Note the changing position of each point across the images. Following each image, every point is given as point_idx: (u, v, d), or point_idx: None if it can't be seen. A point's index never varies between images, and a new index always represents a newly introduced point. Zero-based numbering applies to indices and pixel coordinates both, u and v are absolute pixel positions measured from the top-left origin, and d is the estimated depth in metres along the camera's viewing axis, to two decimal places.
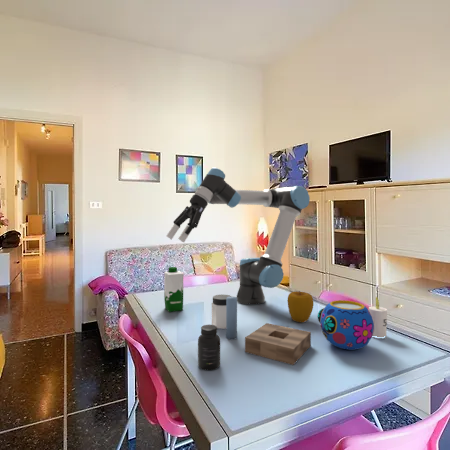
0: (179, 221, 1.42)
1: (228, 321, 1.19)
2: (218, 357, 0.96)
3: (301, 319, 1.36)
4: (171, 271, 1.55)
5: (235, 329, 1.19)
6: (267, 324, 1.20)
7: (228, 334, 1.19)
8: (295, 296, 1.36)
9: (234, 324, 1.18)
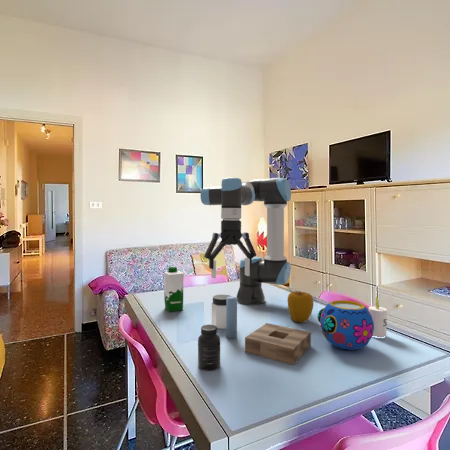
0: None
1: (228, 321, 1.19)
2: (218, 357, 0.96)
3: (301, 319, 1.36)
4: (171, 271, 1.55)
5: (235, 329, 1.19)
6: (267, 324, 1.20)
7: (228, 334, 1.19)
8: (295, 296, 1.36)
9: (234, 324, 1.18)
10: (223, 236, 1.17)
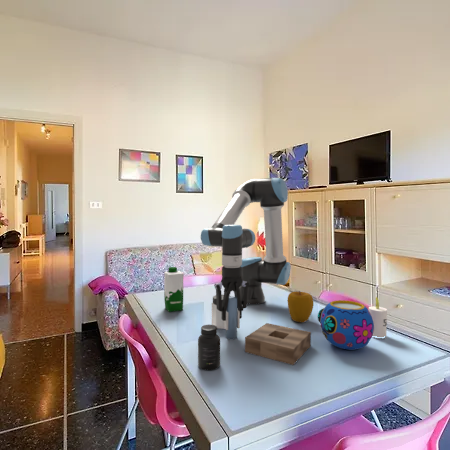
0: None
1: (228, 321, 1.19)
2: (218, 357, 0.96)
3: (301, 319, 1.36)
4: (171, 271, 1.55)
5: (235, 329, 1.19)
6: (267, 324, 1.20)
7: (228, 334, 1.19)
8: (295, 296, 1.36)
9: (234, 324, 1.18)
10: (224, 283, 1.17)
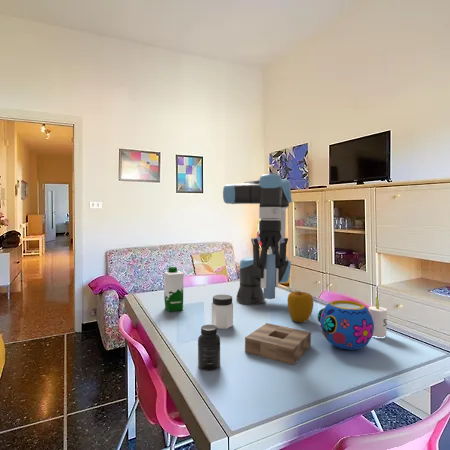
0: None
1: (266, 279, 1.09)
2: (218, 357, 0.96)
3: (301, 319, 1.36)
4: (171, 271, 1.55)
5: (273, 288, 1.10)
6: (267, 324, 1.20)
7: (266, 293, 1.09)
8: (295, 296, 1.36)
9: (273, 282, 1.09)
10: (263, 238, 1.08)
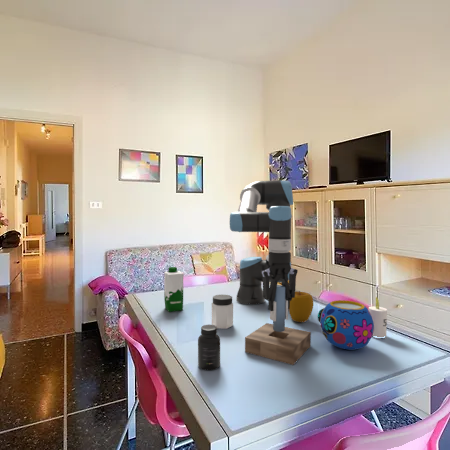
0: None
1: (276, 312, 1.08)
2: (218, 357, 0.96)
3: (301, 319, 1.36)
4: (171, 271, 1.55)
5: (283, 320, 1.08)
6: (267, 324, 1.20)
7: (276, 326, 1.08)
8: (295, 296, 1.36)
9: (282, 315, 1.08)
10: (272, 270, 1.07)
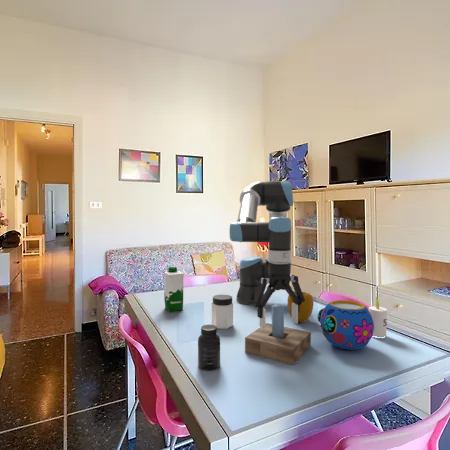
0: None
1: (275, 332, 1.08)
2: (218, 357, 0.96)
3: (301, 319, 1.36)
4: (171, 271, 1.55)
5: None
6: (267, 324, 1.20)
7: None
8: None
9: (281, 335, 1.08)
10: (272, 281, 1.07)
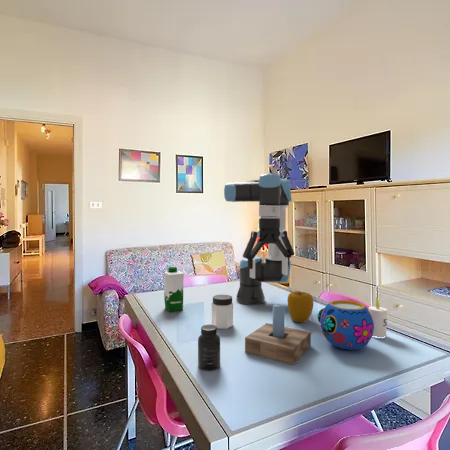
0: None
1: (275, 331, 1.08)
2: (218, 357, 0.96)
3: (301, 319, 1.36)
4: (171, 271, 1.55)
5: None
6: (267, 324, 1.20)
7: None
8: (295, 296, 1.36)
9: (282, 335, 1.08)
10: (262, 235, 1.13)
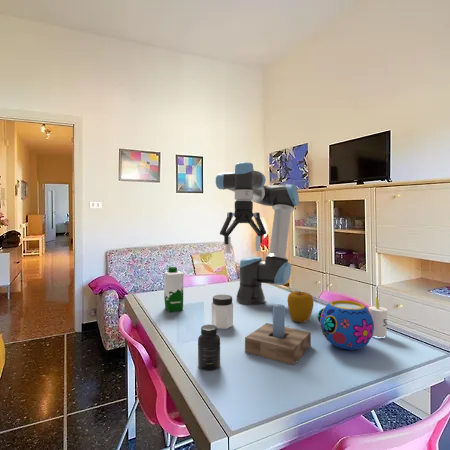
0: None
1: (275, 331, 1.08)
2: (218, 357, 0.96)
3: (301, 319, 1.36)
4: (171, 271, 1.55)
5: None
6: (267, 324, 1.20)
7: None
8: (295, 296, 1.36)
9: (282, 335, 1.08)
10: (237, 215, 1.30)
